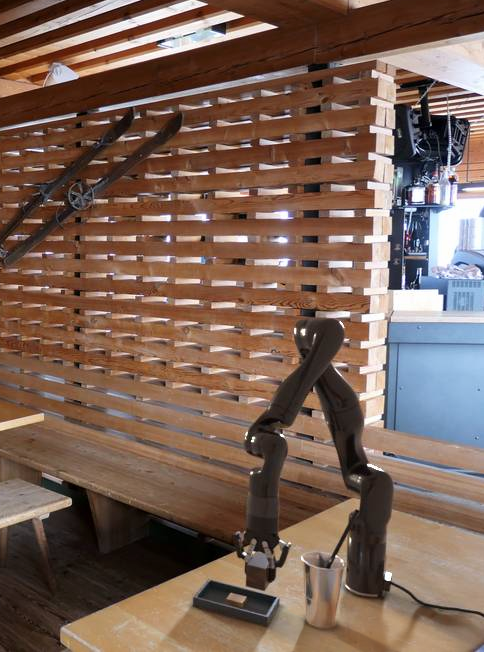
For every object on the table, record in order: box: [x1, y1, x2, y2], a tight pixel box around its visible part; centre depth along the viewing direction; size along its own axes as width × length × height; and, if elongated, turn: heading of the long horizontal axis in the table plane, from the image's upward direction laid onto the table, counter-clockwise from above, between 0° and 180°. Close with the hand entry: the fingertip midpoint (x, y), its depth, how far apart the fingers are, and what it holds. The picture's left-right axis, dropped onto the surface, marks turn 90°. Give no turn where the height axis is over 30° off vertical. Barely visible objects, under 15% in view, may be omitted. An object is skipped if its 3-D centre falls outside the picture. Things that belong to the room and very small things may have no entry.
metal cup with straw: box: [299, 508, 359, 630], centre depth 176 cm, size 11×11×30 cm
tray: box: [192, 578, 281, 627], centre depth 185 cm, size 18×12×2 cm
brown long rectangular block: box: [245, 552, 271, 592], centre depth 181 cm, size 4×9×6 cm, turn 148°
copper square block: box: [226, 593, 247, 609], centre depth 185 cm, size 4×4×2 cm
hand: (259, 578), depth 182 cm, fingers closed on brown long rectangular block, 4 cm apart
